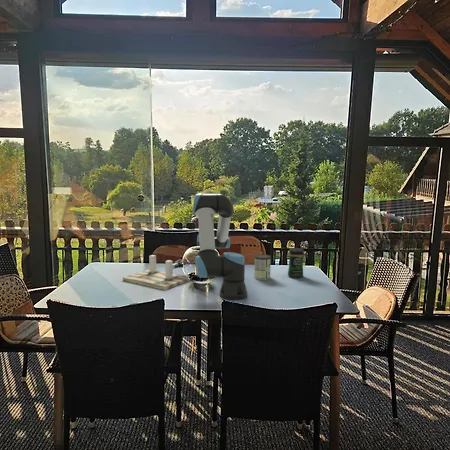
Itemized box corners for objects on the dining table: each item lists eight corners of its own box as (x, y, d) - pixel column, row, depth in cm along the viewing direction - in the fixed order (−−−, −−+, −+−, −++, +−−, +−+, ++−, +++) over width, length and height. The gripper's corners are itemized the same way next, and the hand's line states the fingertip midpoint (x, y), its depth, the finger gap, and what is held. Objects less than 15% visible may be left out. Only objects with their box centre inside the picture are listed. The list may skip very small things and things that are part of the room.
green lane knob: (169, 280, 238) (168, 262, 237) (163, 279, 240) (163, 261, 239) (174, 278, 242) (174, 260, 241) (169, 277, 244) (169, 259, 243)
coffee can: (254, 275, 260) (254, 254, 258) (270, 275, 259) (270, 254, 257) (253, 279, 250) (254, 257, 248) (270, 280, 249) (270, 258, 247)
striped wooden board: (165, 290, 227) (165, 286, 226) (122, 280, 245) (122, 277, 244) (191, 280, 247) (191, 276, 246) (150, 272, 265) (150, 269, 264)
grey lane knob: (152, 273, 252) (152, 256, 250) (147, 272, 254) (147, 255, 253) (157, 272, 256) (157, 255, 255) (153, 271, 258) (152, 254, 257)
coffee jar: (289, 278, 254) (290, 249, 252) (287, 274, 262) (287, 247, 259) (304, 278, 255) (305, 249, 252) (301, 274, 262) (302, 247, 260)
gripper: (201, 267, 259) (178, 275, 239) (186, 264, 266) (162, 271, 246) (201, 255, 258) (178, 262, 238) (185, 253, 265) (162, 259, 245)
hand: (170, 267), depth 242 cm, fingers closed
